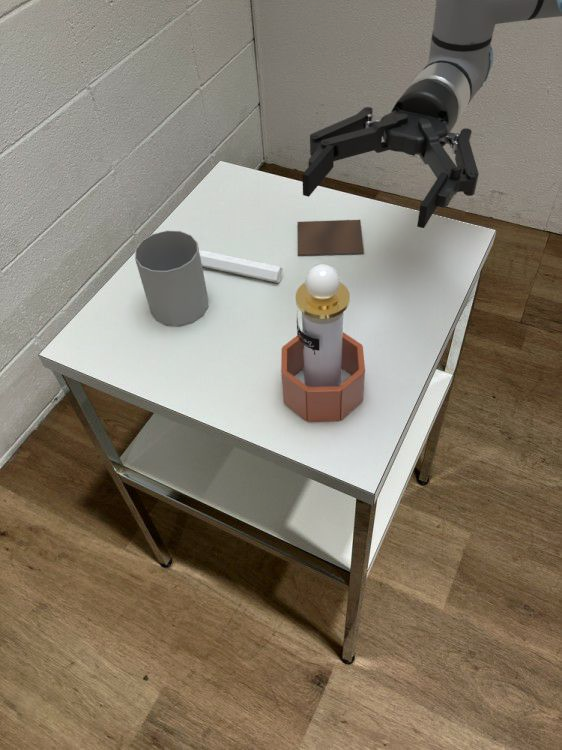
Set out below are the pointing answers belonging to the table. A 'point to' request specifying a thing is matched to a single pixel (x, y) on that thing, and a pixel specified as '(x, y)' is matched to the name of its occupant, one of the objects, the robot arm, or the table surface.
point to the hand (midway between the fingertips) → (361, 201)
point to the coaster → (330, 238)
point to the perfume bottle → (322, 325)
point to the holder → (323, 400)
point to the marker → (241, 266)
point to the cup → (172, 277)
